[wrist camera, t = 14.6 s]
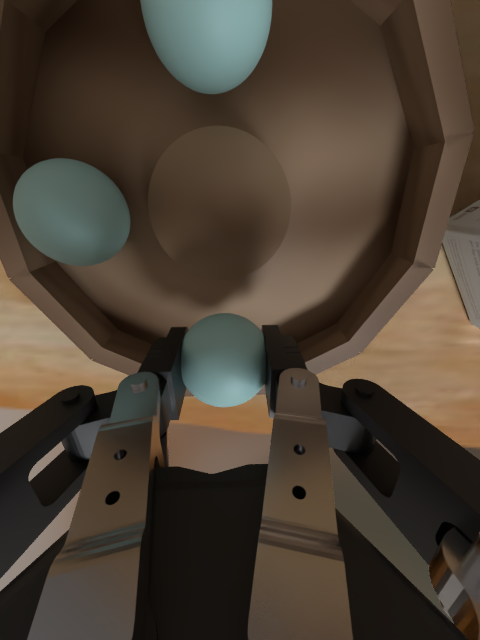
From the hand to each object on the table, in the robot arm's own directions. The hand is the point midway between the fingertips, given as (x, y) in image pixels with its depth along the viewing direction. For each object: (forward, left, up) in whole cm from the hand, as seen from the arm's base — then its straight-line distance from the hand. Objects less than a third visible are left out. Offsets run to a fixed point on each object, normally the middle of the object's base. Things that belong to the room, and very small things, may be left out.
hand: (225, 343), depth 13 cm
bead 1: (-6, -6, -1) cm, 8 cm away
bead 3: (0, 0, +1) cm, 1 cm away
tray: (-6, 0, -4) cm, 7 cm away
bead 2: (-12, 0, -1) cm, 12 cm away
